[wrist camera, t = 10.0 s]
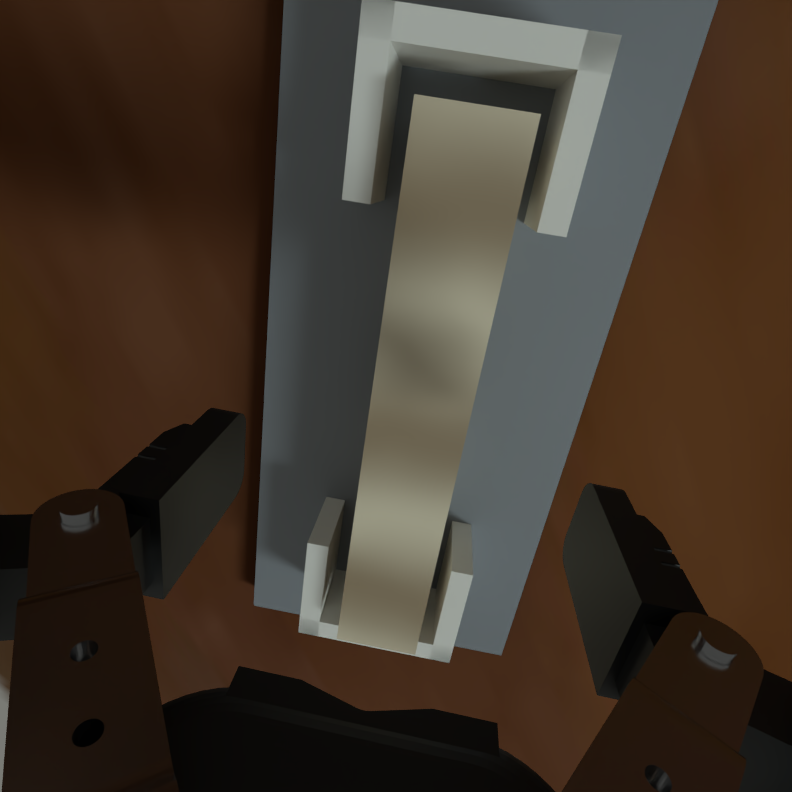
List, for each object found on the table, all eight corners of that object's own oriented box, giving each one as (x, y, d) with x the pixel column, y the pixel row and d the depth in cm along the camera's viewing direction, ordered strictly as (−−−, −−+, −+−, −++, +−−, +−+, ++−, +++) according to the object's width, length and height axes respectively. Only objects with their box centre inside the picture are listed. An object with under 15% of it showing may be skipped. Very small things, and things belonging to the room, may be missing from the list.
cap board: (298, -74, 15) (247, -155, 11) (710, -14, 15) (795, -79, 11) (261, 589, 26) (228, 658, 22) (499, 638, 25) (506, 716, 21)
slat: (424, 113, 16) (414, 94, 12) (521, 129, 16) (541, 113, 12) (356, 565, 23) (336, 638, 19) (422, 578, 23) (414, 654, 19)
